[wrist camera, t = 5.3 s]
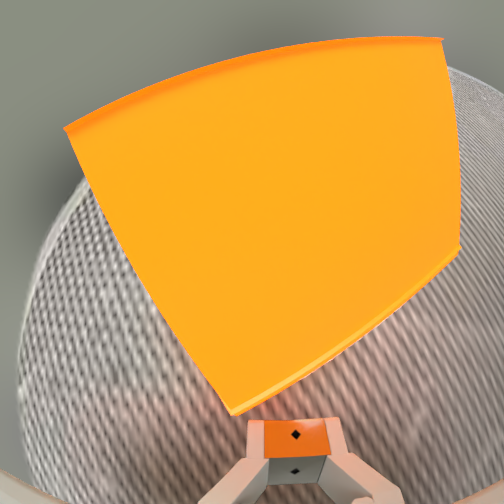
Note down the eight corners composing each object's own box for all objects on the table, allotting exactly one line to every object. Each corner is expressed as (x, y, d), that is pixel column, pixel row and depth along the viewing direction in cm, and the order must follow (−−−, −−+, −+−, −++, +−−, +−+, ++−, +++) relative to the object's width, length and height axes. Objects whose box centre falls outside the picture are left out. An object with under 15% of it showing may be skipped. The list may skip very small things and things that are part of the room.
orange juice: (350, 342, 21) (561, 136, 3) (248, 407, 19) (161, 475, 1) (293, 262, 24) (344, -10, 7) (195, 316, 22) (53, 56, 5)
